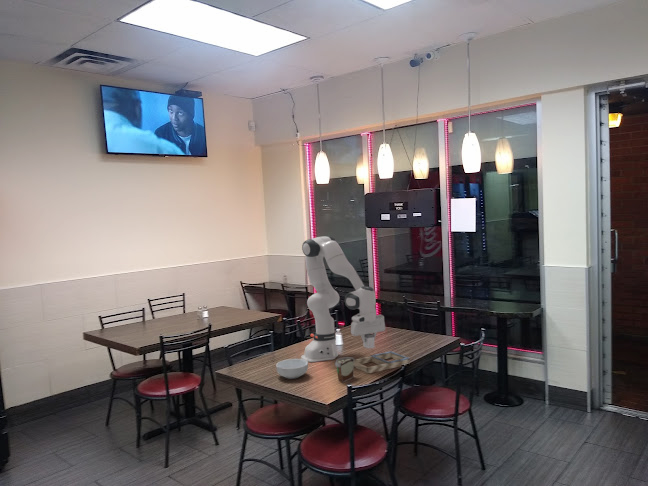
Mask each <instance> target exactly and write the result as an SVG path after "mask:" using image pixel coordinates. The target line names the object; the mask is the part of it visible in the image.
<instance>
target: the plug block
mask: <svg viewBox="0 0 648 486" xmlns="http://www.w3.org/2000/svg"><path fill="white" fill-rule="evenodd" d="M364 338H365V339H366V342H363V341H362V342H363V343H362V346H363V348H366V349H367V350H368V349H374V348H375V341H374V335H373V334H372V333H370V334H365V336H364Z"/></svg>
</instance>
